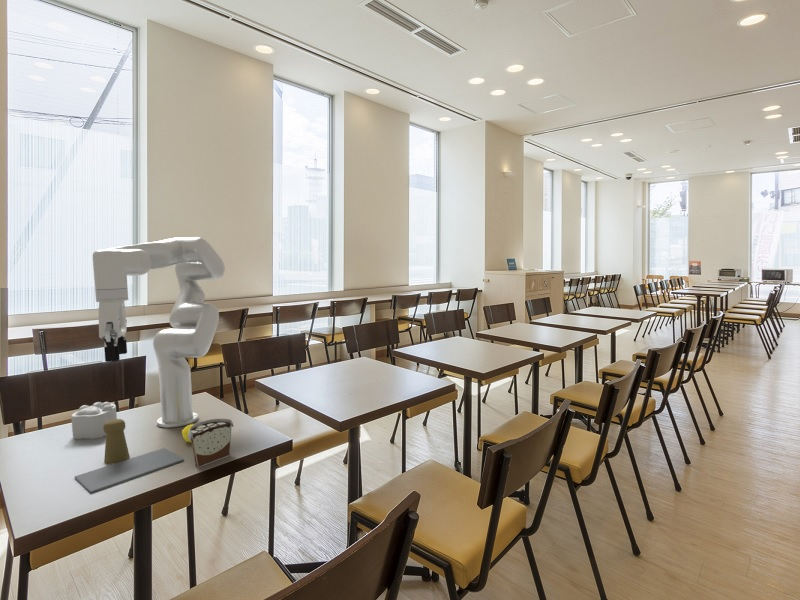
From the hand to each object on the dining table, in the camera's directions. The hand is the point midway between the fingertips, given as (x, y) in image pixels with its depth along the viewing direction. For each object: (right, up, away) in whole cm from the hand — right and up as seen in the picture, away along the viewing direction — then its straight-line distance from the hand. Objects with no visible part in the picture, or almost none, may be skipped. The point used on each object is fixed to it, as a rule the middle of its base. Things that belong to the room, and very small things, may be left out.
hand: (116, 357), depth 127 cm
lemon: (+16, -27, +12) cm, 33 cm away
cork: (0, -28, +1) cm, 28 cm away
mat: (+7, -29, -6) cm, 30 cm away
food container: (+25, -28, 0) cm, 38 cm away
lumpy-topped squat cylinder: (-19, -27, +22) cm, 40 cm away
